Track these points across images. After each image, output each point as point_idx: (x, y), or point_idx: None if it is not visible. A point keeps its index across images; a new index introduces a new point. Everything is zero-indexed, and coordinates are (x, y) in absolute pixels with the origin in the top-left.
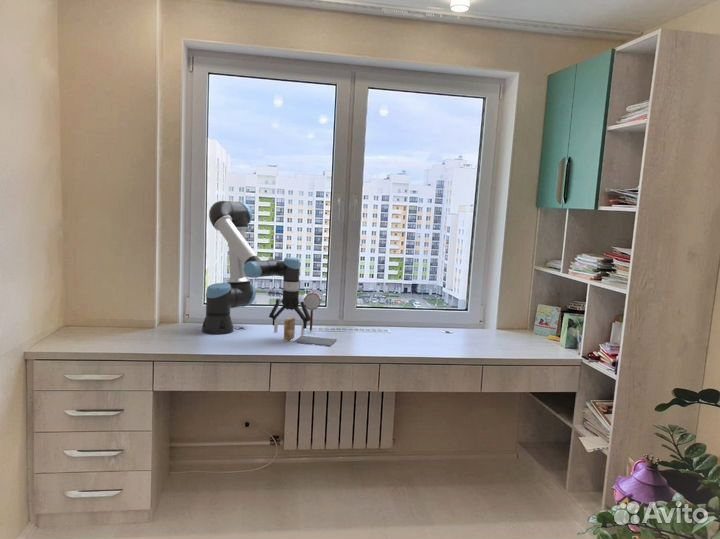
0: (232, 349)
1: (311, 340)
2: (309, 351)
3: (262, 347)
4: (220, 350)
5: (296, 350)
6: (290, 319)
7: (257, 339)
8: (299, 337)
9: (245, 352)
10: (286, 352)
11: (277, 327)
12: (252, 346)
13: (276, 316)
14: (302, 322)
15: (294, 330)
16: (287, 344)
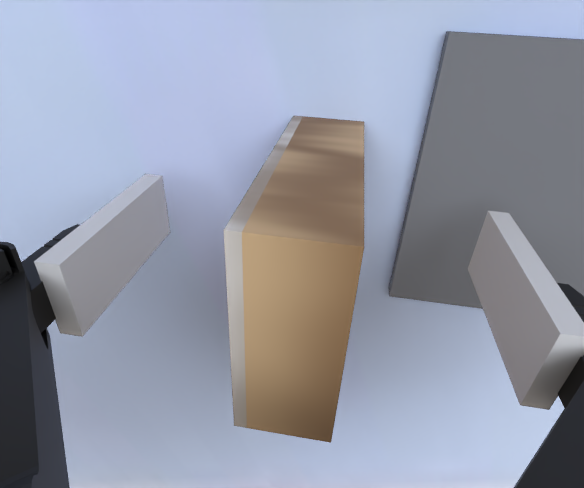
0: (103, 450)
1: (581, 231)
2: (531, 452)
3: (217, 413)
4: (71, 463)
5: (437, 442)
6: (309, 381)
7: None
8: (431, 141)
9: (183, 478)
10: (381, 471)
11: (137, 203)
12: (156, 404)
13: (52, 375)
14: (533, 404)
15: (363, 155)
16: (349, 341)
